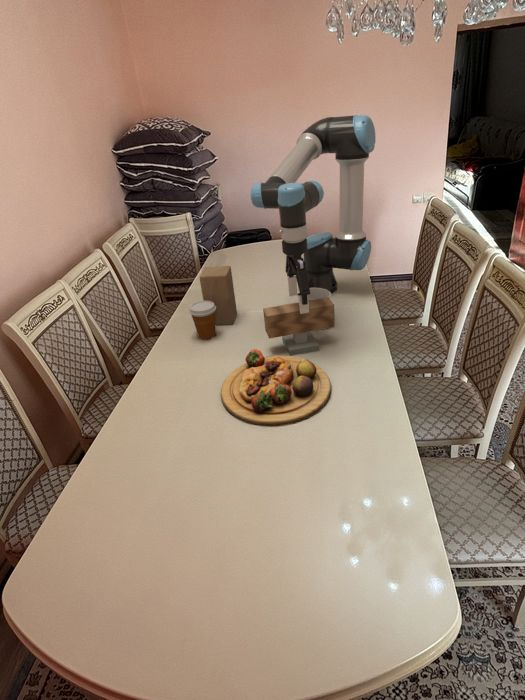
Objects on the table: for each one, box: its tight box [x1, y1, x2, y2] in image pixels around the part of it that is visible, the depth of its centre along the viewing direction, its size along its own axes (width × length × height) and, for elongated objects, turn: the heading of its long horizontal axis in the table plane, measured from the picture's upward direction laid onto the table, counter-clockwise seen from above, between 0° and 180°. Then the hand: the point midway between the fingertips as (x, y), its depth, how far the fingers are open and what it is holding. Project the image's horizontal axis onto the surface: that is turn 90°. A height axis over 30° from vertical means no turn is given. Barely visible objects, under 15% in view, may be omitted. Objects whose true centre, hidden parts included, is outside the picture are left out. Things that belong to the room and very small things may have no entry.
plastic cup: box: [308, 288, 332, 301], centre depth 162 cm, size 11×11×12 cm
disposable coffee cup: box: [189, 300, 217, 340], centre depth 162 cm, size 10×10×12 cm
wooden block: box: [198, 265, 238, 326], centre depth 170 cm, size 10×10×20 cm
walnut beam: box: [262, 298, 336, 340], centre depth 147 cm, size 22×6×8 cm, turn 102°
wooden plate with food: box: [220, 348, 332, 427], centre depth 129 cm, size 32×32×8 cm
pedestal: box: [281, 331, 320, 356], centre depth 150 cm, size 10×10×6 cm
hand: (298, 303), depth 145 cm, fingers open, 13 cm apart
